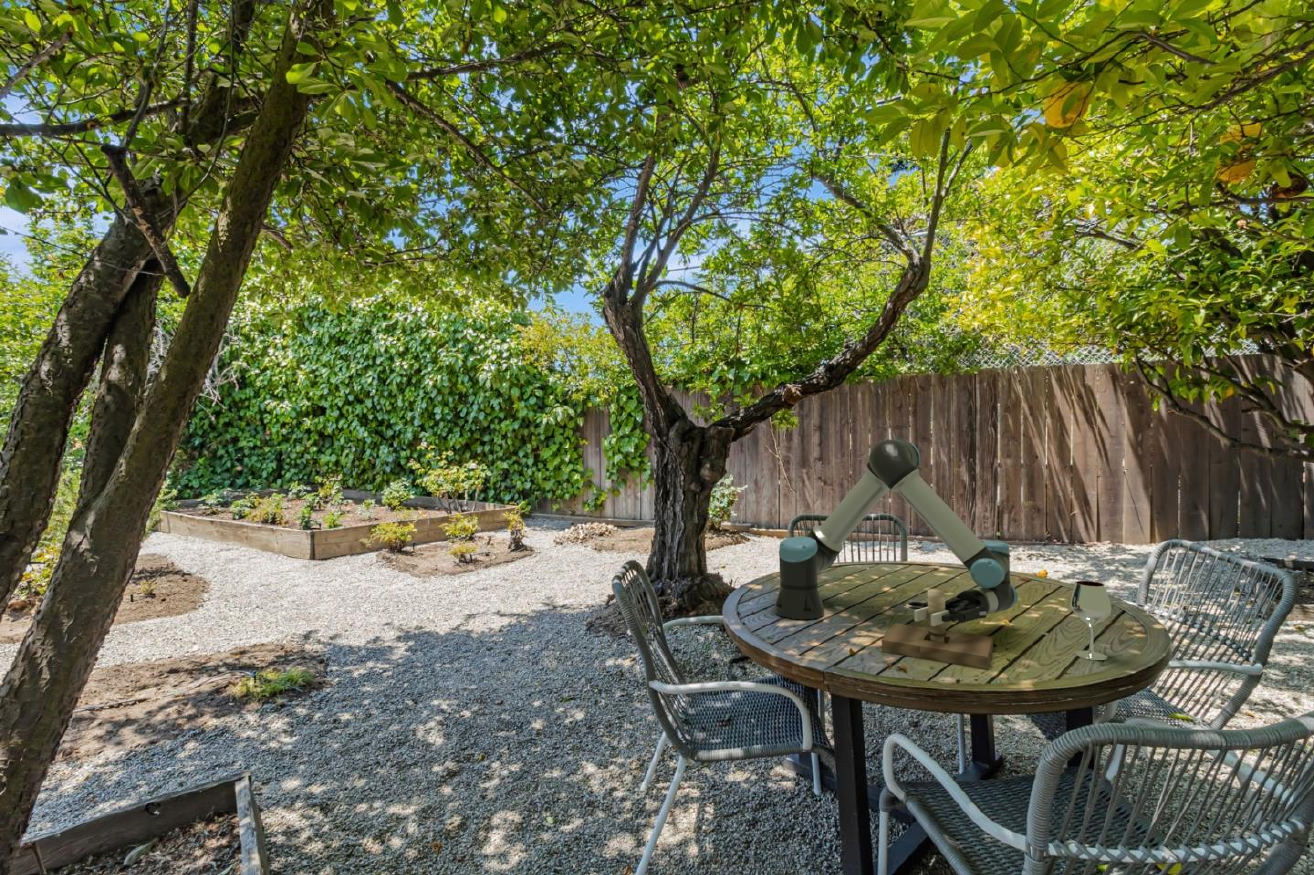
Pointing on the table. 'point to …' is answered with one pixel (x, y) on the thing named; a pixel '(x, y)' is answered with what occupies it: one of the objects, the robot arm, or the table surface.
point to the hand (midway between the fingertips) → (924, 618)
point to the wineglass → (1090, 610)
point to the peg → (934, 606)
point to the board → (939, 646)
